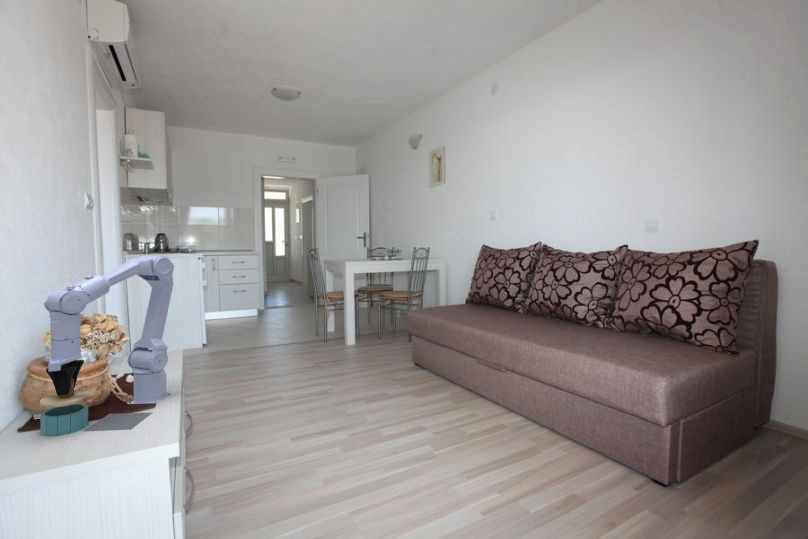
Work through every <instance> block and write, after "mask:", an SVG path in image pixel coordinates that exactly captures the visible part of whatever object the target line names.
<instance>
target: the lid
mask: <svg viewBox="0 0 808 539" xmlns="http://www.w3.org/2000/svg"><path fill="white" fill-rule="evenodd" d="M92 397H93V391H92V390H91V389H85V388H84V389H83V388H82V389H80V390H74V379H72V381H71V387H70V392H69V394H68V395H60V396H58V395H57V393H55V394H52V395H49V396H46V397H44V398H42V399H41V400H40V406H41V407H46V408H53V407H62V406H68V405H72V404H76V403H80V402H82V403H83V402H85V401H88V400H89V399H91V398H92Z"/></svg>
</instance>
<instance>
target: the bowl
mask: <svg viewBox="0 0 808 539" xmlns="http://www.w3.org/2000/svg"><path fill="white" fill-rule="evenodd" d="M39 421H40V422H39V423H40V426H39V427H40V428H39V429H40V430H39V431H40V435H41V436H44V437H45V436H46V437H57V436H58V437H59V436H63V435H68V434H72V433H75V432H78V431H80V430H84V428H85V429H86V427H87V426H88V424H89V405H88V404H86V403H82V404H72V405H68V406H62V407H54V408H50V409H48V410H46V411H44V412H42V413H41V415H40V420H39Z"/></svg>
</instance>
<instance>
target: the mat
mask: <svg viewBox="0 0 808 539" xmlns="http://www.w3.org/2000/svg"><path fill="white" fill-rule="evenodd" d="M152 414H153V412H129V413H124V412H123V413H108V414H107V415H105V416H104V417H102V418H100V420H97V421H96V422H95V423H93V424H92V425H90V426H89V427H87V428H85V429H83V432H102V431H103V432H104V431H105V432H106V431H126V430H127V431H131V430H132V429H134V428H135V427H136V426H138V425H139V424H140V423H141V422H143V421H144V420H145V419H147V418H148V417H149V416H150V415H152Z"/></svg>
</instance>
